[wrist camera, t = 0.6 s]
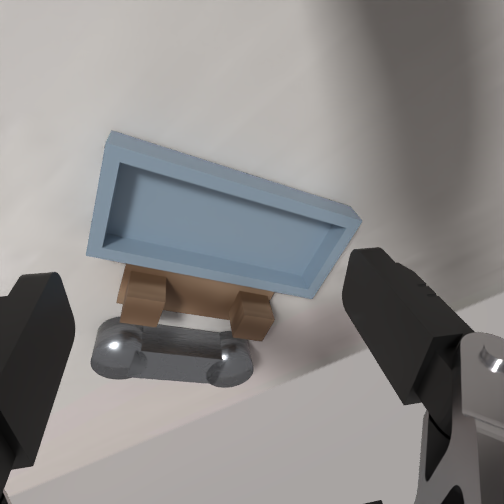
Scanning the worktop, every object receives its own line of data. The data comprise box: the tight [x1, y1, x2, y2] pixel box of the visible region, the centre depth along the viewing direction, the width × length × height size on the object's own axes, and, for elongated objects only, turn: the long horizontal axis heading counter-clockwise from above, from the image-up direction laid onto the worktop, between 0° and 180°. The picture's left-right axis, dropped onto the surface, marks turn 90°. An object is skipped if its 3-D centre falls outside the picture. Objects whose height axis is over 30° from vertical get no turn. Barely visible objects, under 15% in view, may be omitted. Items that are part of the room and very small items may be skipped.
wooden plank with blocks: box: [116, 263, 275, 341], centre depth 32 cm, size 5×14×4 cm, turn 68°
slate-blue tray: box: [86, 131, 362, 299], centre depth 28 cm, size 9×20×2 cm, turn 68°
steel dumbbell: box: [91, 317, 253, 388], centre depth 36 cm, size 5×16×4 cm, turn 68°
